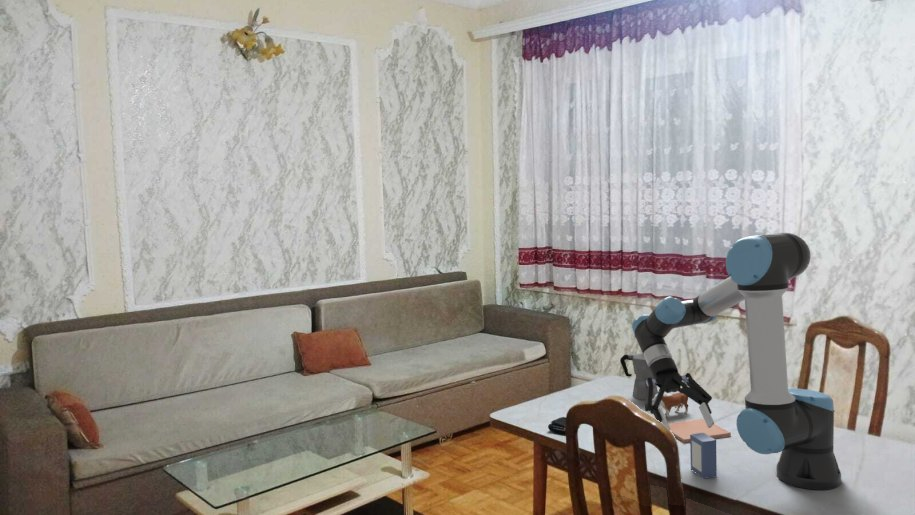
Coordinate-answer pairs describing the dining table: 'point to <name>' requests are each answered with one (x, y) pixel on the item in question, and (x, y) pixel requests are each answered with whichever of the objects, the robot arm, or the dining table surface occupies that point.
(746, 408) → the robot arm
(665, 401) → the bull figurine
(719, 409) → the dining table surface
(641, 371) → the coffeepot
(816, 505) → the dining table surface
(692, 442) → the block
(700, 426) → the plate
